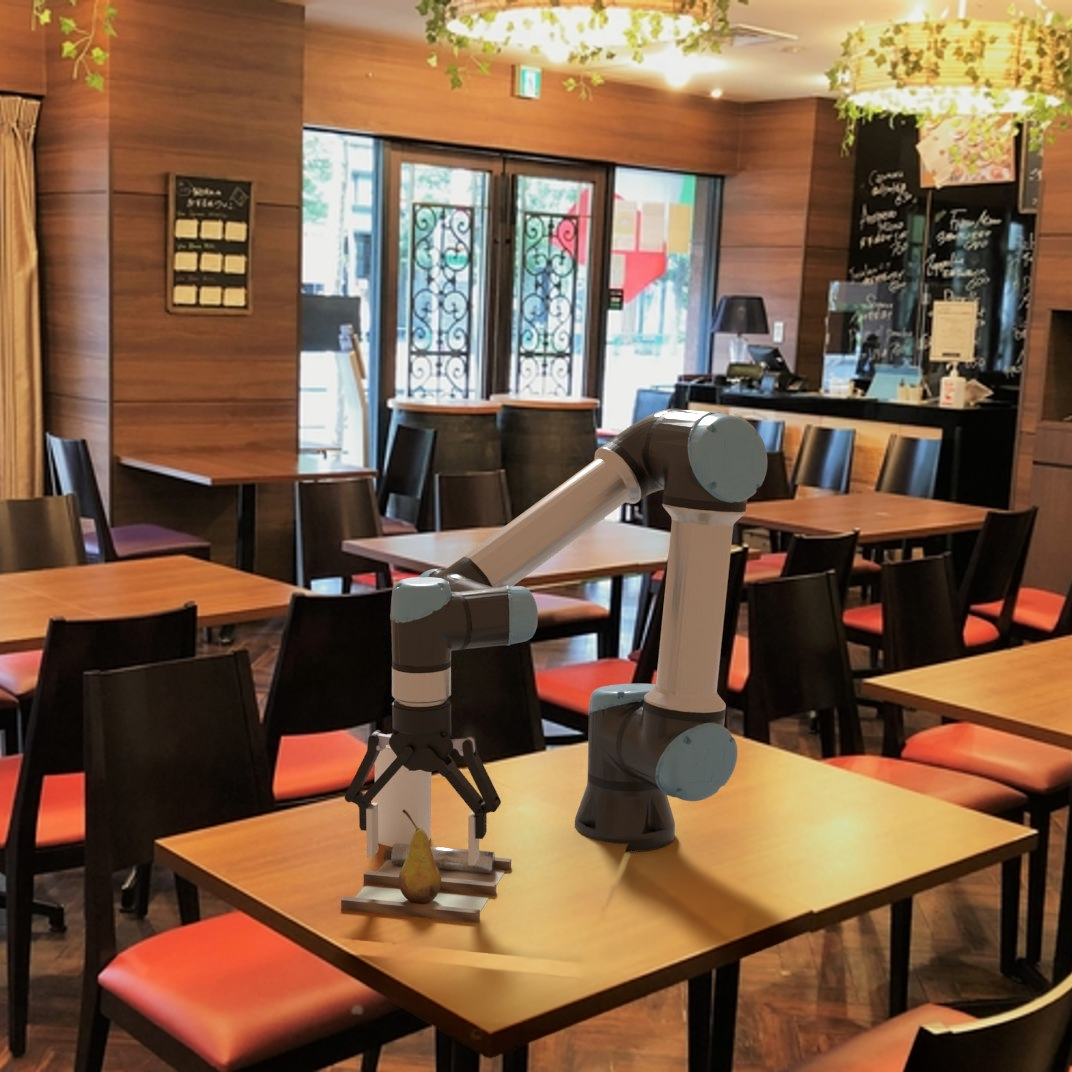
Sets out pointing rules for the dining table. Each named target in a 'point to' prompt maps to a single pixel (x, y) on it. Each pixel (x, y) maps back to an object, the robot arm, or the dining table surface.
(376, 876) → the rack
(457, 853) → the rod
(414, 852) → the fruit
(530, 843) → the dining table surface
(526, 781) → the dining table surface
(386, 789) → the cup
